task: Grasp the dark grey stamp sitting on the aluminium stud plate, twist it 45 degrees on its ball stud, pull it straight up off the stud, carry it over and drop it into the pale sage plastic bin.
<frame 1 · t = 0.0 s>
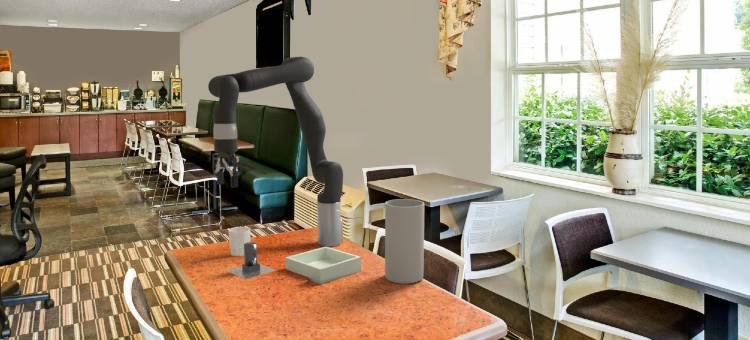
hand: (227, 185, 179), 29 cm above the table, fingers open, 8 cm apart
dark grey stamp: (251, 270, 180), point 1 cm above the table, touching stud plate
cylinder vase: (404, 278, 176), on the table
sage bin: (323, 271, 182), on the table
white cup: (240, 256, 200), on the table
stud plate: (251, 273, 180), on the table
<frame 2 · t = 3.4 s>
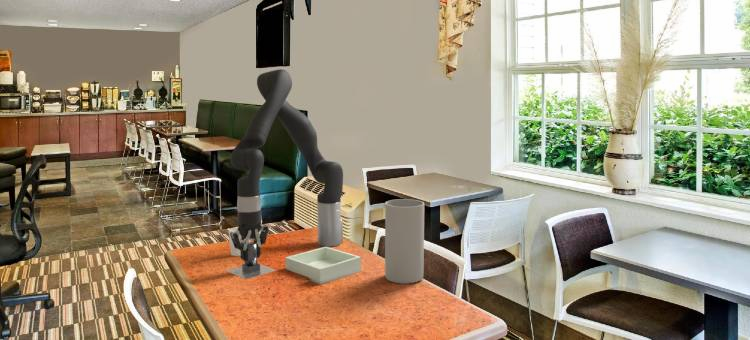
hand: (250, 258, 179), 5 cm above the table, fingers closed on dark grey stamp, 4 cm apart
dark grey stamp: (251, 270, 180), point 1 cm above the table, touching gripper, stud plate
everything else where it was.
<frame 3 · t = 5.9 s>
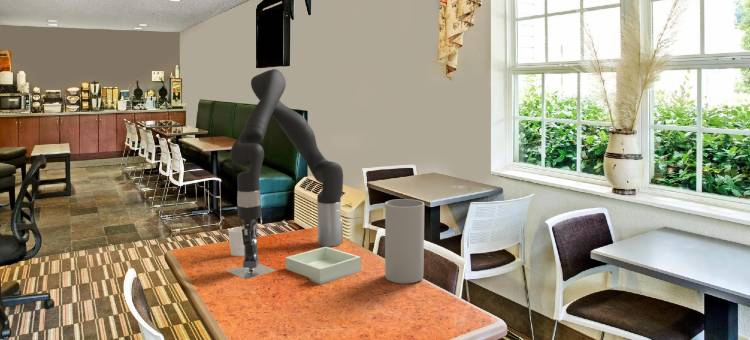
hand: (251, 253, 179), 7 cm above the table, fingers closed on dark grey stamp, 4 cm apart
dark grey stamp: (251, 265, 180), point 3 cm above the table, touching gripper
everything else where it was.
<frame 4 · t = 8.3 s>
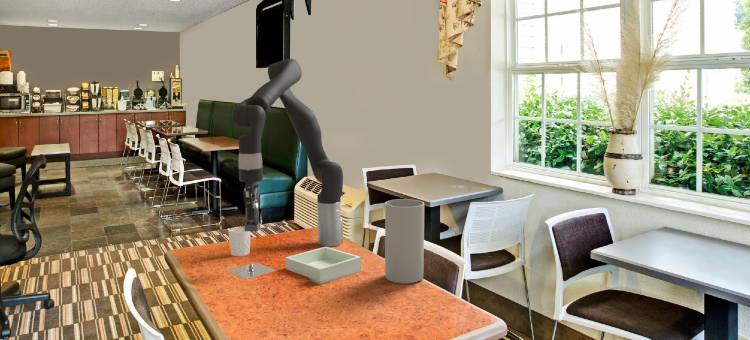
hand: (252, 217, 178), 19 cm above the table, fingers closed on dark grey stamp, 4 cm apart
dark grey stamp: (252, 229, 178), point 15 cm above the table, touching gripper
everything else where it was.
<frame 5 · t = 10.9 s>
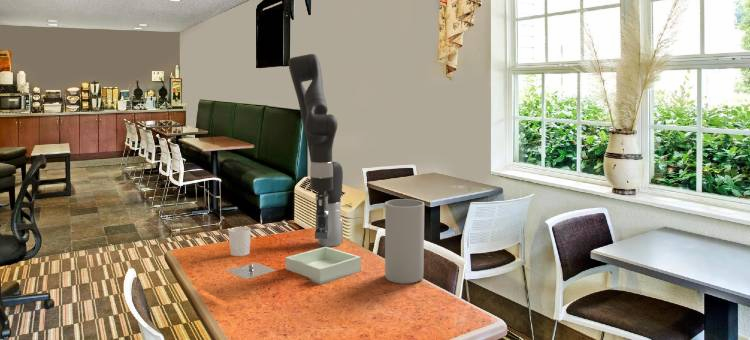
hand: (322, 225, 180), 16 cm above the table, fingers closed on dark grey stamp, 4 cm apart
dark grey stamp: (321, 237, 180), point 12 cm above the table, touching gripper
everything else where it was.
when the fingers open (7 cm above the table, at t = 13.2 s): dark grey stamp drops 2 cm, resting on sage bin.
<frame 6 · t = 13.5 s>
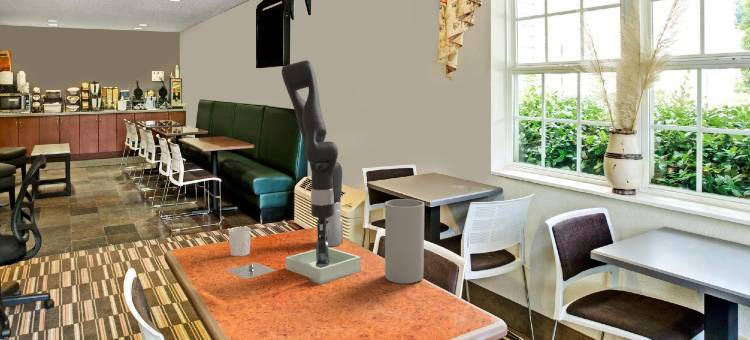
hand: (323, 249, 181), 8 cm above the table, fingers open, 7 cm apart
dark grey stamp: (322, 268, 182), point 1 cm above the table, touching sage bin
everything else where it was.
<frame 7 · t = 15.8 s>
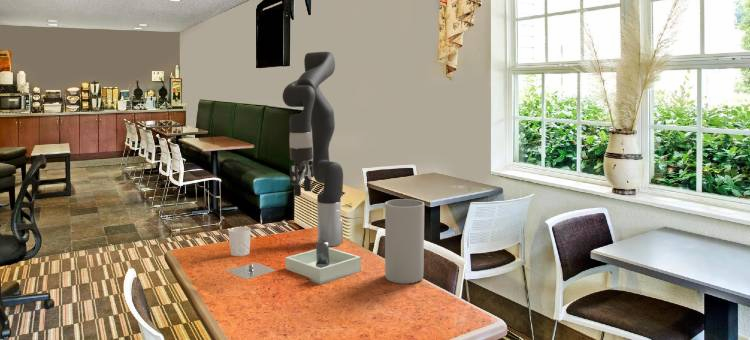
hand: (302, 193, 182), 26 cm above the table, fingers open, 8 cm apart
nothing on the table moved.
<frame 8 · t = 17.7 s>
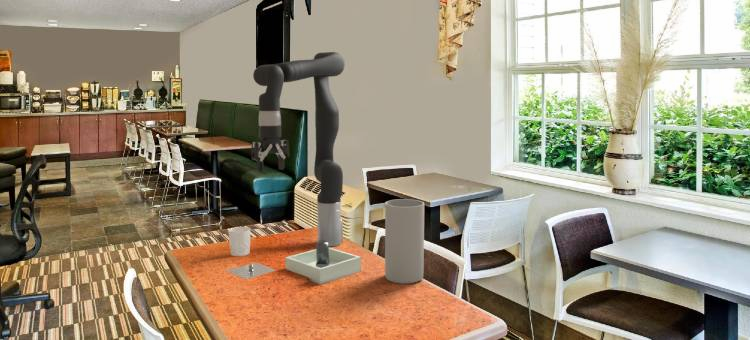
hand: (271, 170, 187), 33 cm above the table, fingers open, 8 cm apart
nothing on the table moved.
at the end: dark grey stamp inside the target area on the sage bin (0.2 cm from its centre), point 1.0 cm above the sage bin's base; dark grey stamp moved 23.9 cm from its start; the gripper is holding nothing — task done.
